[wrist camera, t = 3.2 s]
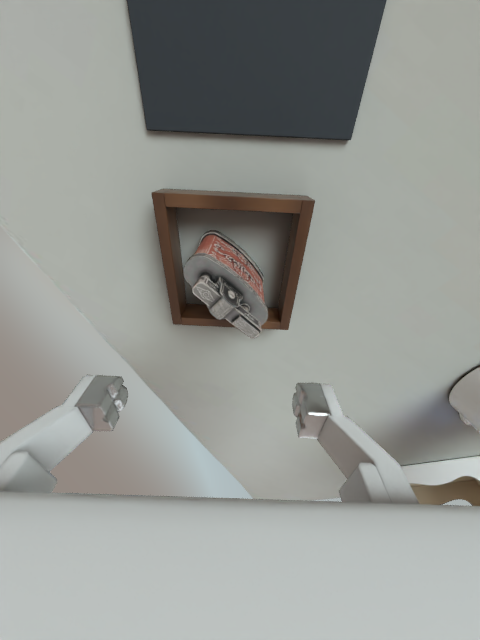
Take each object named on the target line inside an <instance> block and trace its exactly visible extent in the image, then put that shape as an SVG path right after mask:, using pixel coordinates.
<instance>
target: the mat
mask: <svg viewBox="0 0 480 640" xmlns="http://www.w3.org/2000/svg"><path fill="white" fill-rule="evenodd" d="M127 3H128V10H129V16H130V23H131V29H132V36H133V42H134V49H135V55H136V62H137V68H138V75H139V81H140V88H141V94H142V101H143V107H144V114H145V120H146V127H147V130H154V131H174V132H194V133H214V134H235V135H255V136H275V137H295V138H316V139H336V140H351V137H352V133H353V129H354V125H355V121H356V118H357V114H358V110H359V106H360V102H361V98H362V94H363V90H364V86H365V82H366V78H367V74H368V70H369V67H370V63H371V59H372V55H373V51H374V47H375V43H376V39H377V35H378V31H379V27H380V23H381V19H382V16H383V12H384V8H385V4H386V0H127Z"/></svg>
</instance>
